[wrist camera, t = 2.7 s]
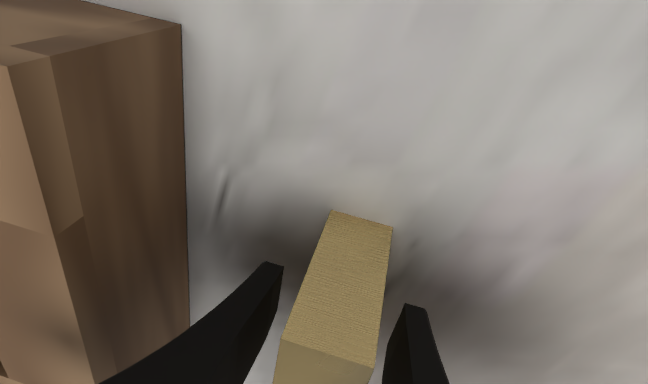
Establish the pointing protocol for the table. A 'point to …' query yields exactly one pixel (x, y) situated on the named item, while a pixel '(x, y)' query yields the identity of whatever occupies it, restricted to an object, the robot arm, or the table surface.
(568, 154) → the table surface
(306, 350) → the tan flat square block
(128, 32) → the box
